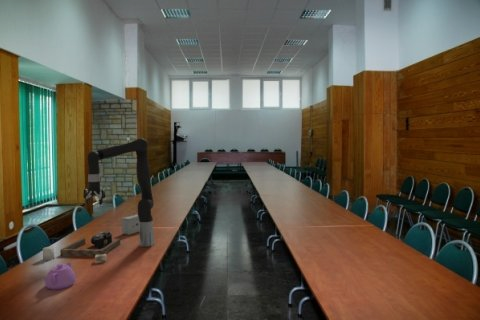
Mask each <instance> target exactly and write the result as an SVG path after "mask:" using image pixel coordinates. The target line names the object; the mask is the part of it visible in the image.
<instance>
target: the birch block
mask: <svg viewBox="0 0 480 320" xmlns="http://www.w3.org/2000/svg"><path fill="white" fill-rule="evenodd" d="M102 262H103V263H107V254H100V255H96V256H95V257H94V263H95V264H100V263H101V264H102Z"/></svg>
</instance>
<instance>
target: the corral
mask: <svg viewBox="0 0 480 320" xmlns="http://www.w3.org/2000/svg"><path fill="white" fill-rule="evenodd" d="M84 245H86V238H85V237H82V238H80V239H78V240H76V241H75V242H73V243H71V244H69V245H67V246H64V247H63V248H61V249H60V257H83V258H84V257H85V258H86V256H87V257H88V258H89V257H91V258H95V256H96V255H100V254H106V255H108V254H109V253H111V252H112V251H113V250H114V249H116V248H118V247H119V246H121V245H122V244H121V238H117V239H115V240H114V241H112V243H111V244H108V245H106V246H104V247H102V248H100V249H92V248H91V249H90V248H89V249H88V248H87V249H85V248H84V249H83V248H81V247H82V246H84ZM80 246H81V247H80ZM78 247H79V248H78Z"/></svg>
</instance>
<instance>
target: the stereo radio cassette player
mask: <svg viewBox="0 0 480 320" xmlns="http://www.w3.org/2000/svg"><path fill="white" fill-rule="evenodd" d="M131 212H132V213H134V214H131V215H130V216H125V217H122V218H121V233H122V234H124V235H129V236H130V235H132V234H133V235H134V234H136V233H139V218H138V212H136V211H132V210H131Z"/></svg>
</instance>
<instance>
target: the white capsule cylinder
mask: <svg viewBox="0 0 480 320" xmlns="http://www.w3.org/2000/svg"><path fill="white" fill-rule="evenodd" d="M52 259H53V260H54V259H55V247H54V246H46V247H43V248H42V260H43V261H46V262H49V261H53V260H52Z"/></svg>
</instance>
